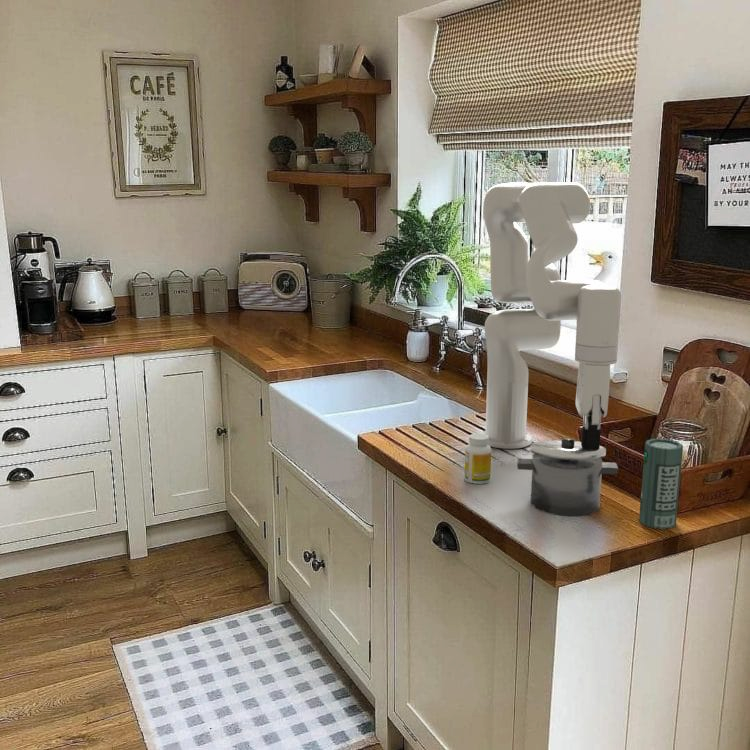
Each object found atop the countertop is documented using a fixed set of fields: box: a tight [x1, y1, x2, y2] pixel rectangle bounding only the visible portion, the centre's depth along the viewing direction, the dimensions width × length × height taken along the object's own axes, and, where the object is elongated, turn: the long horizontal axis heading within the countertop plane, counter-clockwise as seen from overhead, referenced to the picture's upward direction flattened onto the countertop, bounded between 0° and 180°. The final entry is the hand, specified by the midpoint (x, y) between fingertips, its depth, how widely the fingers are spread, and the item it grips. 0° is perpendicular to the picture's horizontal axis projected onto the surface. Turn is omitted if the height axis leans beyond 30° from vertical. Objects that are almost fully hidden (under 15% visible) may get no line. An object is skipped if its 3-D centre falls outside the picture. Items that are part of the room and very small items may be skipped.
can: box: [638, 438, 684, 530], centre depth 149 cm, size 6×6×15 cm
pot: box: [516, 453, 619, 517], centre depth 158 cm, size 13×19×9 cm
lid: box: [529, 437, 607, 460], centre depth 157 cm, size 15×14×2 cm
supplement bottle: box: [464, 432, 492, 485], centre depth 170 cm, size 5×5×10 cm
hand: (590, 447), depth 156 cm, fingers closed
